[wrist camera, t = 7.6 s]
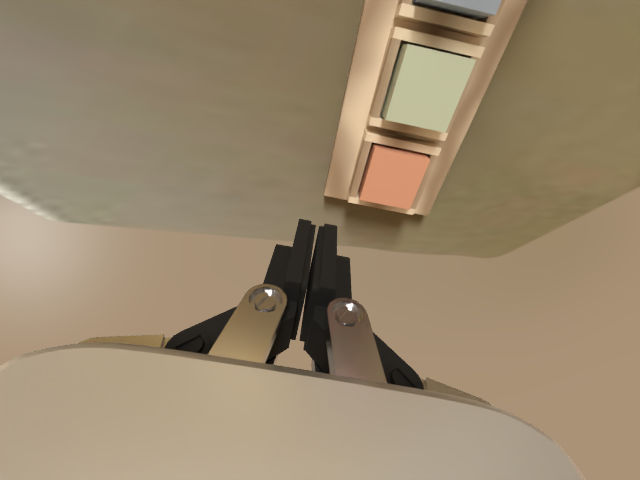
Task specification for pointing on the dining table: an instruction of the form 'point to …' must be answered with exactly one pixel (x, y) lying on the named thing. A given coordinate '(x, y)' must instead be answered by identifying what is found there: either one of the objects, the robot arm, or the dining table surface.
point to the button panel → (374, 79)
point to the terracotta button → (392, 175)
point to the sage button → (426, 87)
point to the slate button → (465, 6)
